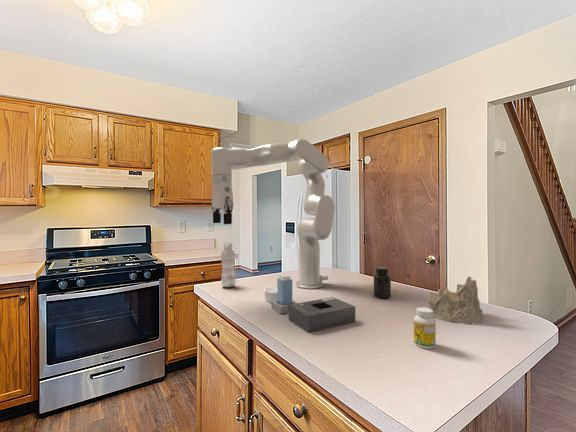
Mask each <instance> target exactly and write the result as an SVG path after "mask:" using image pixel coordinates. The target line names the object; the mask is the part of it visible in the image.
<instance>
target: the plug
mask: <svg viewBox="0 0 576 432" xmlns="http://www.w3.org/2000/svg"><path fill="white" fill-rule="evenodd" d="M276 285H277V286H276V287H277V303H278V304H280V305H288V304H292V300H293V278H292V279H291V275H288V274H280V275H278V278H277V283H276Z"/></svg>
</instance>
